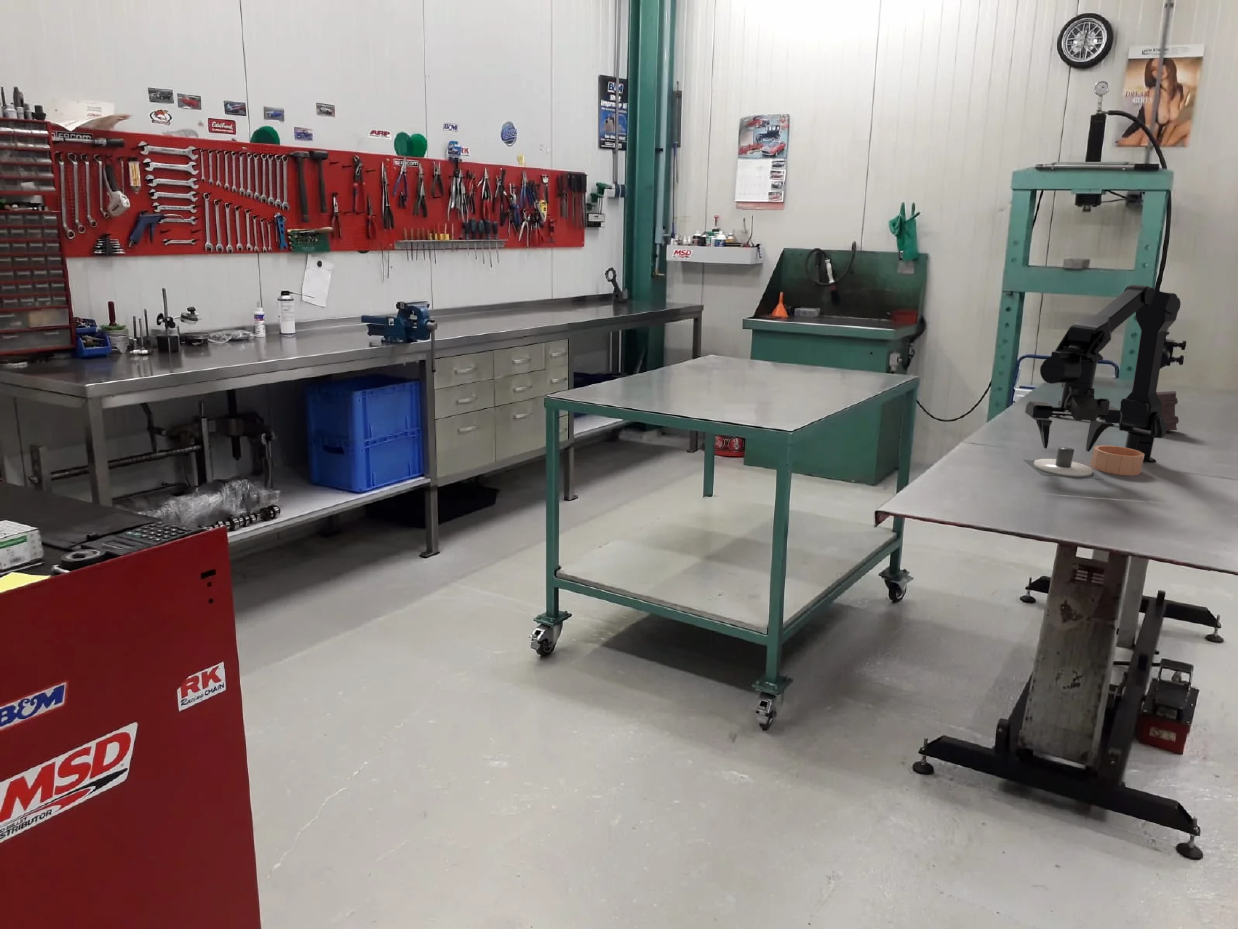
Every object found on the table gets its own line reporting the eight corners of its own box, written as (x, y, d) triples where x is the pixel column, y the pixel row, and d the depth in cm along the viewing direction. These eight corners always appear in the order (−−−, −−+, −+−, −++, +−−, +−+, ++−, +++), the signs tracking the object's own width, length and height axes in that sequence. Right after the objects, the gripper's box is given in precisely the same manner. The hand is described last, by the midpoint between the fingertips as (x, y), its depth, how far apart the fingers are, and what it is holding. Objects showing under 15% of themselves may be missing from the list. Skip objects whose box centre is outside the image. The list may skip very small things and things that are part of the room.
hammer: (1179, 430, 246) (1178, 393, 244) (1046, 435, 263) (1044, 400, 261) (1178, 426, 252) (1177, 390, 250) (1048, 430, 268) (1047, 397, 267)
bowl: (1084, 462, 212) (1087, 444, 211) (1128, 465, 211) (1132, 447, 210) (1101, 474, 203) (1104, 454, 201) (1147, 477, 202) (1151, 458, 201)
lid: (1026, 460, 211) (1029, 440, 209) (1080, 464, 210) (1083, 444, 208) (1043, 474, 199) (1047, 453, 198) (1100, 478, 198) (1104, 457, 197)
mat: (1023, 460, 211) (1023, 459, 211) (1081, 464, 210) (1081, 463, 210) (1041, 476, 199) (1042, 474, 199) (1103, 480, 198) (1104, 479, 198)
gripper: (1047, 384, 192) (1034, 455, 196) (1139, 390, 190) (1125, 462, 195) (1030, 376, 203) (1019, 443, 207) (1117, 381, 201) (1104, 449, 205)
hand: (1066, 449), depth 203 cm, fingers open, 9 cm apart
